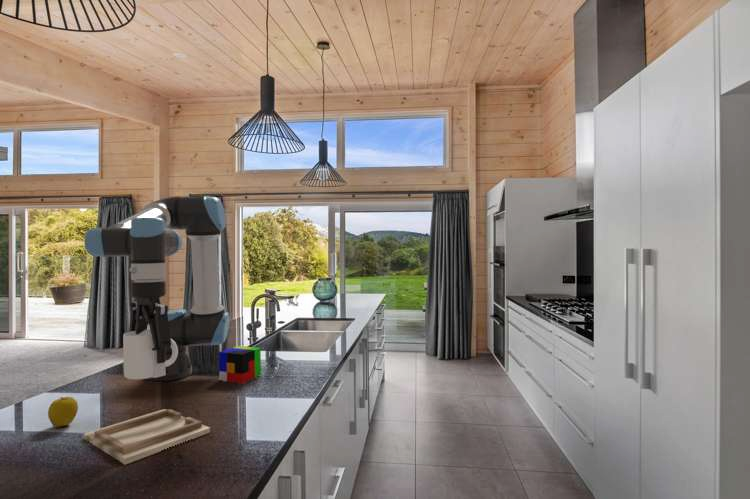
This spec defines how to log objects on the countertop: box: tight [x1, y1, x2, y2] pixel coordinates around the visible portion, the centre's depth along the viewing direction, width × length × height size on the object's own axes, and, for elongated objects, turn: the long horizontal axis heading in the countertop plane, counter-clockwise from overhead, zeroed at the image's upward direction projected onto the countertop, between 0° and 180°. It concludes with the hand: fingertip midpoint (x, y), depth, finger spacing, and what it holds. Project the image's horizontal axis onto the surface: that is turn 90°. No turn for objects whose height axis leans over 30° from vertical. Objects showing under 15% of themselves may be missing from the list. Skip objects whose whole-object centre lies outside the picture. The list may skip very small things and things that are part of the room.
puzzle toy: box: [218, 345, 262, 384], centre depth 155 cm, size 10×10×10 cm
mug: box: [122, 328, 178, 381], centre depth 107 cm, size 12×8×10 cm
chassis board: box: [83, 408, 211, 465], centre depth 108 cm, size 22×20×2 cm
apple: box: [47, 396, 79, 428], centre depth 114 cm, size 6×6×8 cm
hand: (149, 372), depth 107 cm, fingers closed on mug, 9 cm apart
